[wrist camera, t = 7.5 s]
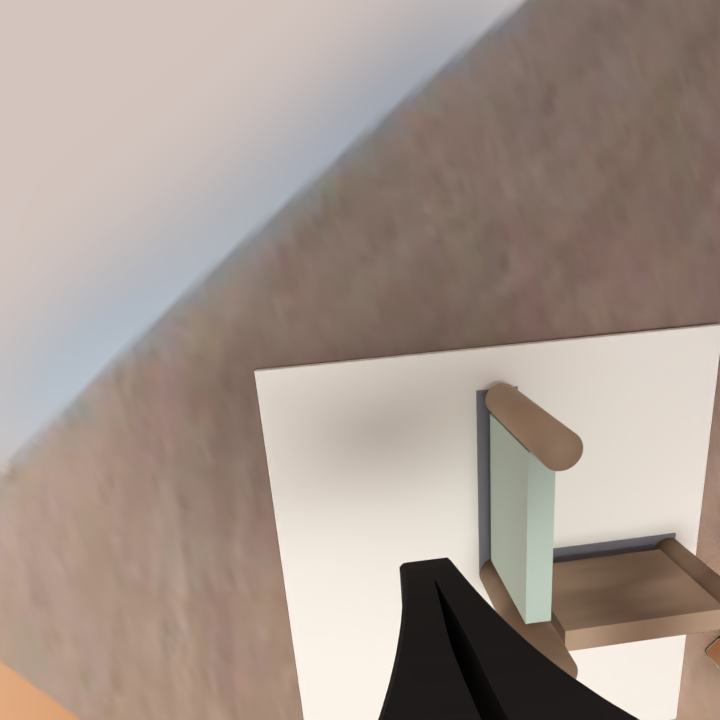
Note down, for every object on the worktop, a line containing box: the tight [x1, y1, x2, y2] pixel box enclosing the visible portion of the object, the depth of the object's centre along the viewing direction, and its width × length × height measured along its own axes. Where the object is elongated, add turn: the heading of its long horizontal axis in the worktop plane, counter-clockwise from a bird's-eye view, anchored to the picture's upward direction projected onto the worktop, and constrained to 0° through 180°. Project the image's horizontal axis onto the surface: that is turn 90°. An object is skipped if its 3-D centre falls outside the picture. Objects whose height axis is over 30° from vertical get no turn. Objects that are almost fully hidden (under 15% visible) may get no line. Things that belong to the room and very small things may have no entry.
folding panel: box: [485, 383, 583, 624], centre depth 18 cm, size 8×1×5 cm, turn 4°
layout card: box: [255, 324, 720, 720], centre depth 22 cm, size 20×22×1 cm
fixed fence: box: [479, 538, 720, 679], centre depth 20 cm, size 10×2×6 cm, turn 95°
